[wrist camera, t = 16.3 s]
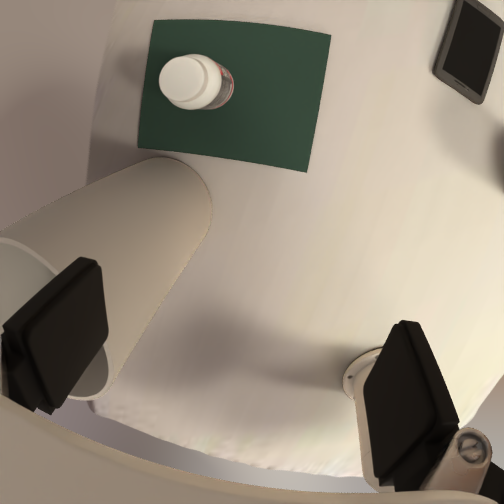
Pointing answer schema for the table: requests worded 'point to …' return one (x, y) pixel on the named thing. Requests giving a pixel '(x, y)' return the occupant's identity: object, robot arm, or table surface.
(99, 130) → the table surface
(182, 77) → the pill bottle
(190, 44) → the right mat
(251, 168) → the table surface
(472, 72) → the cell phone
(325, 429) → the table surface
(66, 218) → the cylinder vase
